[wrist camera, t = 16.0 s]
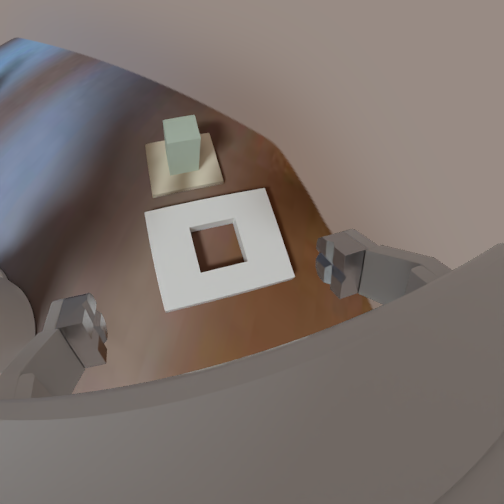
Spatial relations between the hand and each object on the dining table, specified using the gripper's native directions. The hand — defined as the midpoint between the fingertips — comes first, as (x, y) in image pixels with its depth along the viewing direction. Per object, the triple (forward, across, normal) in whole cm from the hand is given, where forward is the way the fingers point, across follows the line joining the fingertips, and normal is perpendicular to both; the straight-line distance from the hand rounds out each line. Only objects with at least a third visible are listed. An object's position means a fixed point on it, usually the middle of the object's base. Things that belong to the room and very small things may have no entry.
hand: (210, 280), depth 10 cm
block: (+37, -3, +3) cm, 38 cm away
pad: (+38, -3, +4) cm, 38 cm away
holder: (+27, -5, +14) cm, 31 cm away
